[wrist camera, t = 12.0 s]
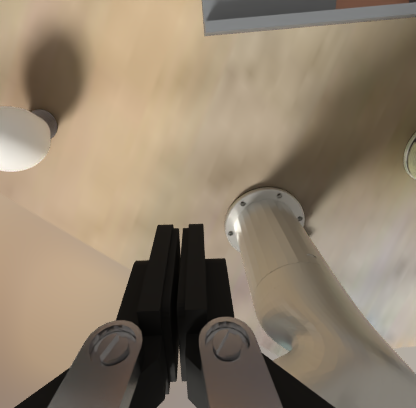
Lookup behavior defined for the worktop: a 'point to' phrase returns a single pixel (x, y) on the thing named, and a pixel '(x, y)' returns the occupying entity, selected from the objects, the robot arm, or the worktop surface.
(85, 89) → the worktop surface
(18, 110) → the light bulb
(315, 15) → the box
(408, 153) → the coffee can
